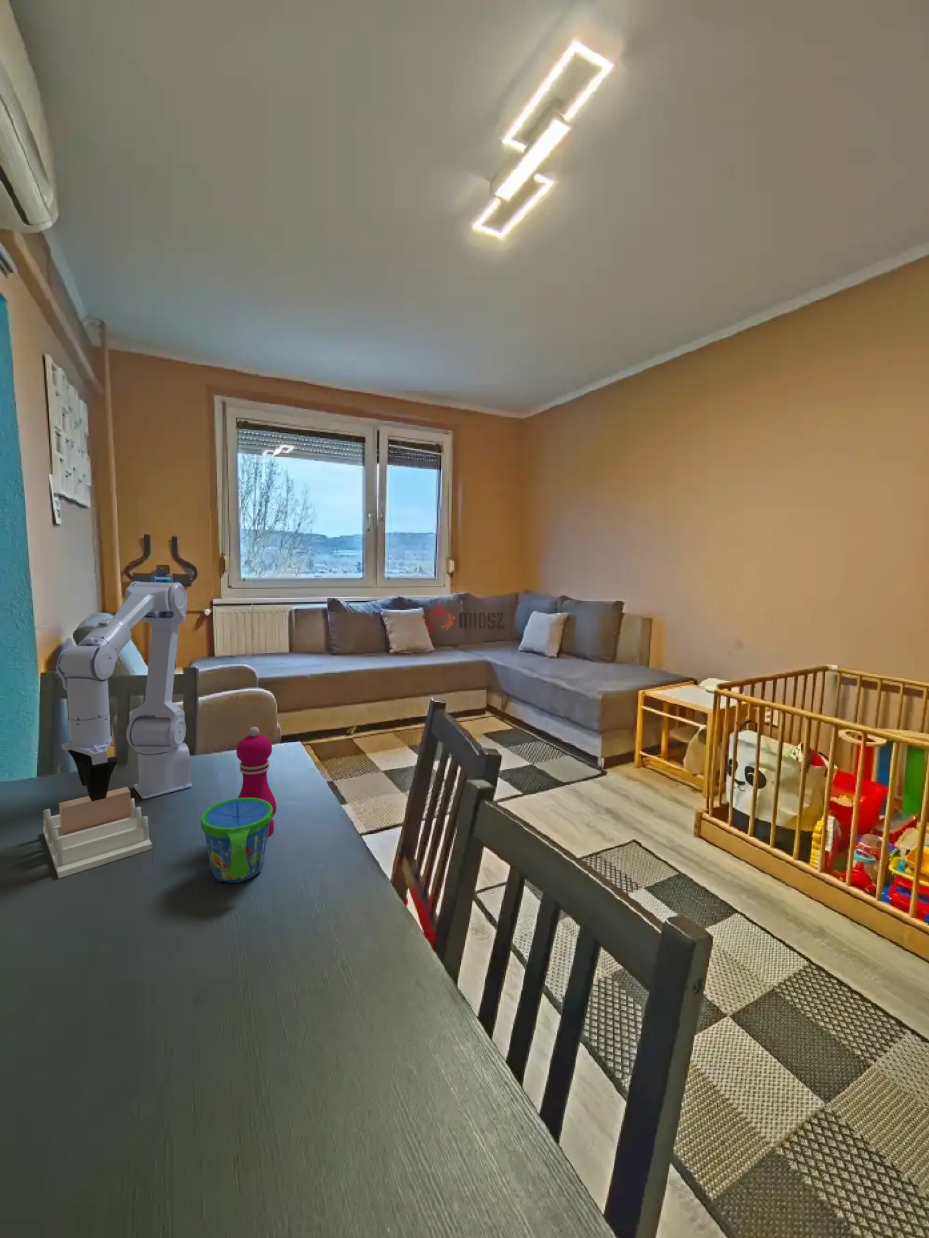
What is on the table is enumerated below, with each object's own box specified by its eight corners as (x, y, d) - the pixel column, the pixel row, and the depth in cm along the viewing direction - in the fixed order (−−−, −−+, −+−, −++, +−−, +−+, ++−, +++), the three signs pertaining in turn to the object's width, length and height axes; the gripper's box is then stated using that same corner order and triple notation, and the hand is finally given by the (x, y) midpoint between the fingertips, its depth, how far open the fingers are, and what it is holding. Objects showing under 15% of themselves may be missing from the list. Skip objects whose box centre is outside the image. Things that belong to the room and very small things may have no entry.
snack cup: (271, 895, 82) (270, 831, 81) (194, 907, 79) (192, 841, 78) (275, 842, 97) (274, 787, 96) (210, 850, 94) (208, 793, 92)
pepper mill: (283, 824, 103) (282, 722, 101) (265, 844, 96) (264, 735, 93) (246, 821, 104) (244, 719, 101) (226, 841, 97) (223, 732, 94)
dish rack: (126, 810, 106) (125, 786, 106) (152, 848, 94) (151, 821, 93) (43, 833, 98) (41, 806, 97) (58, 878, 85) (56, 848, 84)
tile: (128, 823, 100) (126, 786, 99) (132, 828, 98) (130, 791, 97) (61, 842, 93) (58, 803, 92) (63, 848, 91) (61, 808, 90)
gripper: (54, 709, 95) (58, 783, 97) (67, 731, 85) (73, 813, 86) (101, 702, 100) (105, 773, 102) (120, 722, 90) (124, 800, 91)
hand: (93, 791), depth 94 cm, fingers open, 7 cm apart
